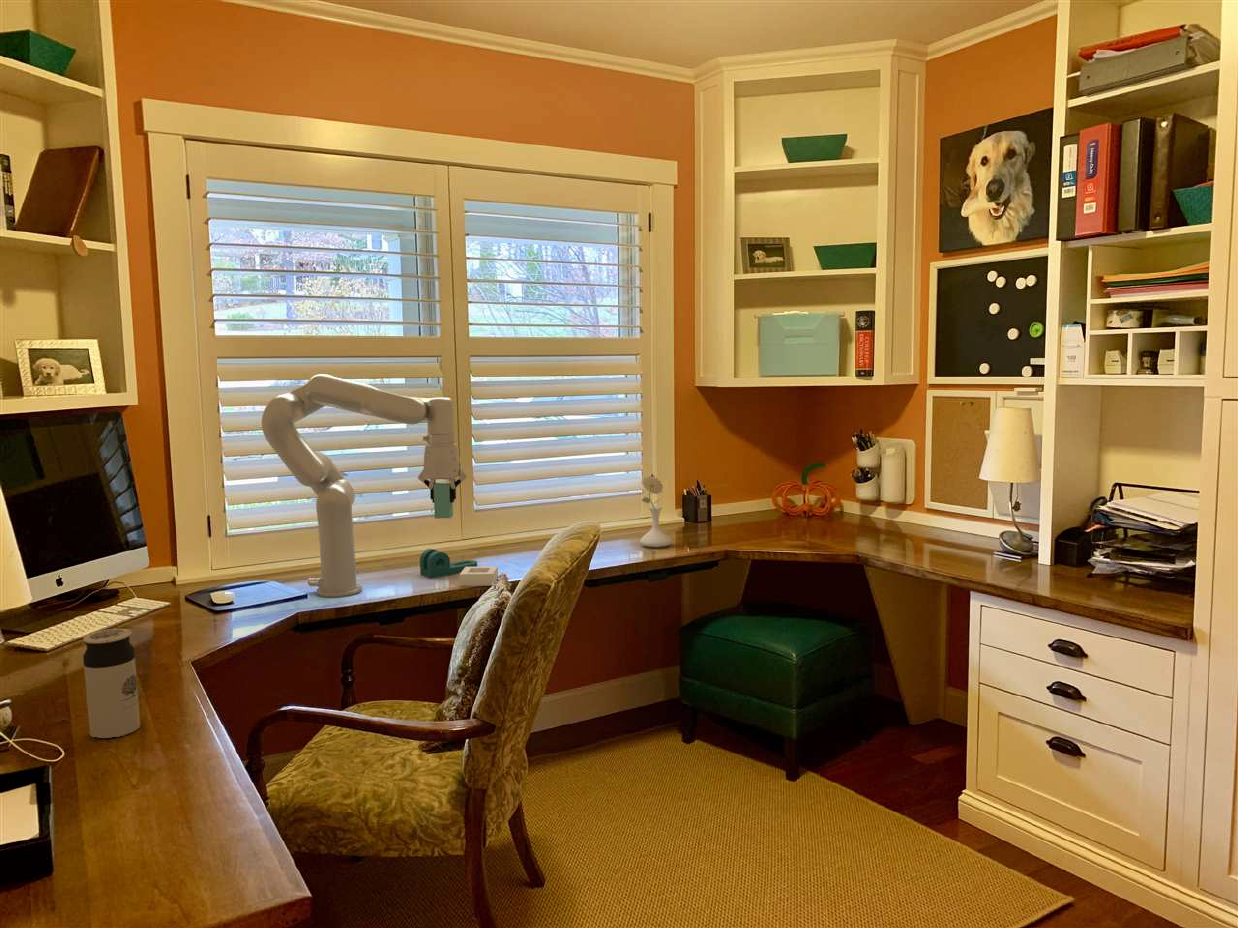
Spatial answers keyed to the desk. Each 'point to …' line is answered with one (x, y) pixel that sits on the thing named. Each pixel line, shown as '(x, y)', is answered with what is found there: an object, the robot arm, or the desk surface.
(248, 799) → the desk surface
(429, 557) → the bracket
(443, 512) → the teal peg
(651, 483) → the flower in vase
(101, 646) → the travel mug
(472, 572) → the pocket block
